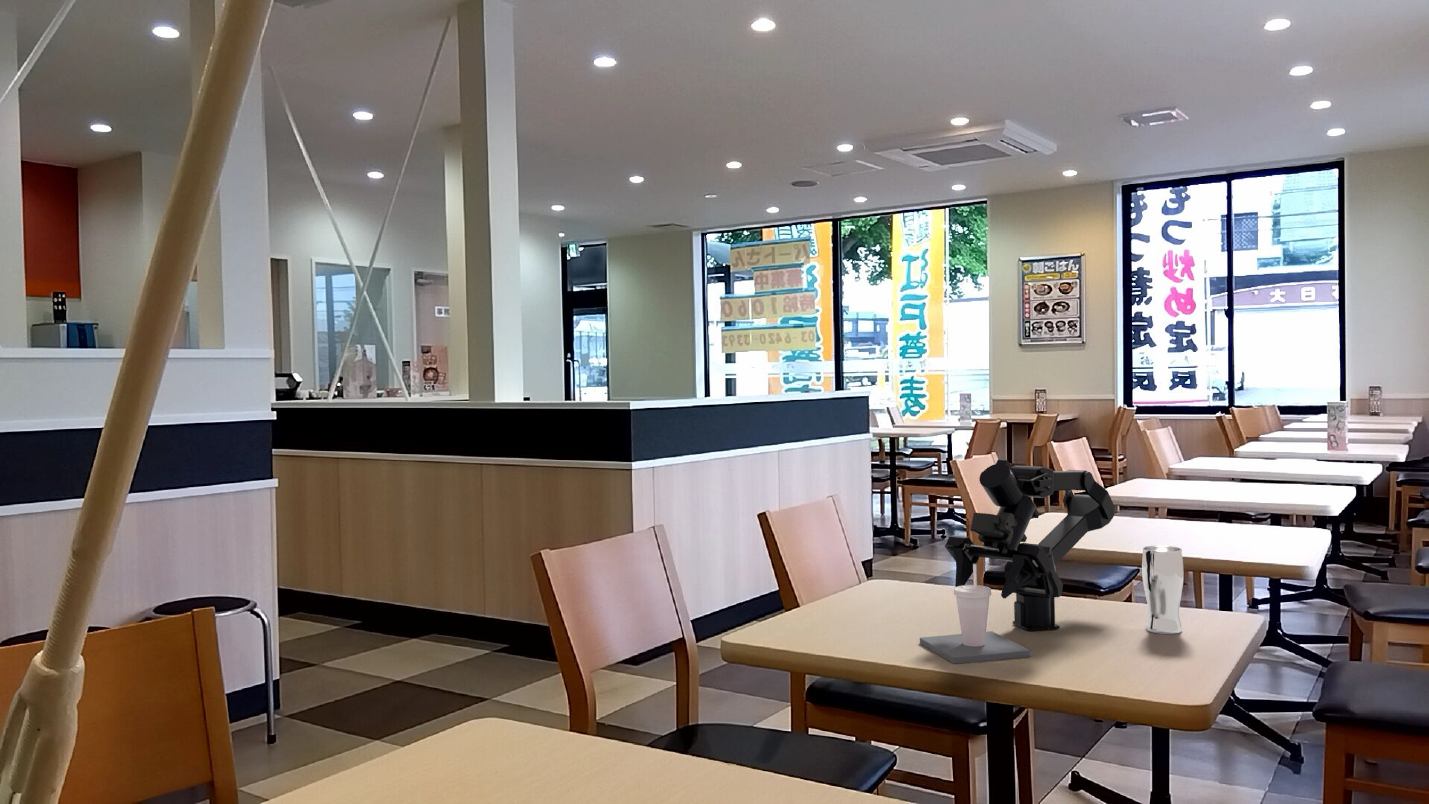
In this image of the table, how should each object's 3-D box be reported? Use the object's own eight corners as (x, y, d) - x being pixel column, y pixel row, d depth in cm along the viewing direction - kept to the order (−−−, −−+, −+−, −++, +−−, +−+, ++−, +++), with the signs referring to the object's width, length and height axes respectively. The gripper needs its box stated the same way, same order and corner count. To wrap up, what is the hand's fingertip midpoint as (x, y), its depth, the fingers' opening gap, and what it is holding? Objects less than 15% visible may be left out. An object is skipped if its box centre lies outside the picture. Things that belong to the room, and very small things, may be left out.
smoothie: (983, 650, 178) (981, 568, 178) (948, 645, 182) (946, 565, 182) (999, 642, 183) (996, 562, 183) (964, 637, 187) (962, 559, 187)
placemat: (991, 636, 191) (991, 631, 191) (1030, 656, 177) (1030, 650, 177) (919, 643, 188) (919, 637, 188) (953, 663, 174) (953, 657, 174)
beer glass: (1134, 628, 193) (1133, 547, 193) (1163, 624, 196) (1161, 544, 196) (1164, 636, 187) (1162, 553, 187) (1193, 631, 190) (1191, 549, 189)
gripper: (948, 492, 194) (915, 560, 187) (1040, 498, 180) (1008, 572, 173) (973, 528, 199) (942, 596, 192) (1064, 537, 186) (1034, 611, 179)
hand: (979, 593), depth 184 cm, fingers open, 9 cm apart
